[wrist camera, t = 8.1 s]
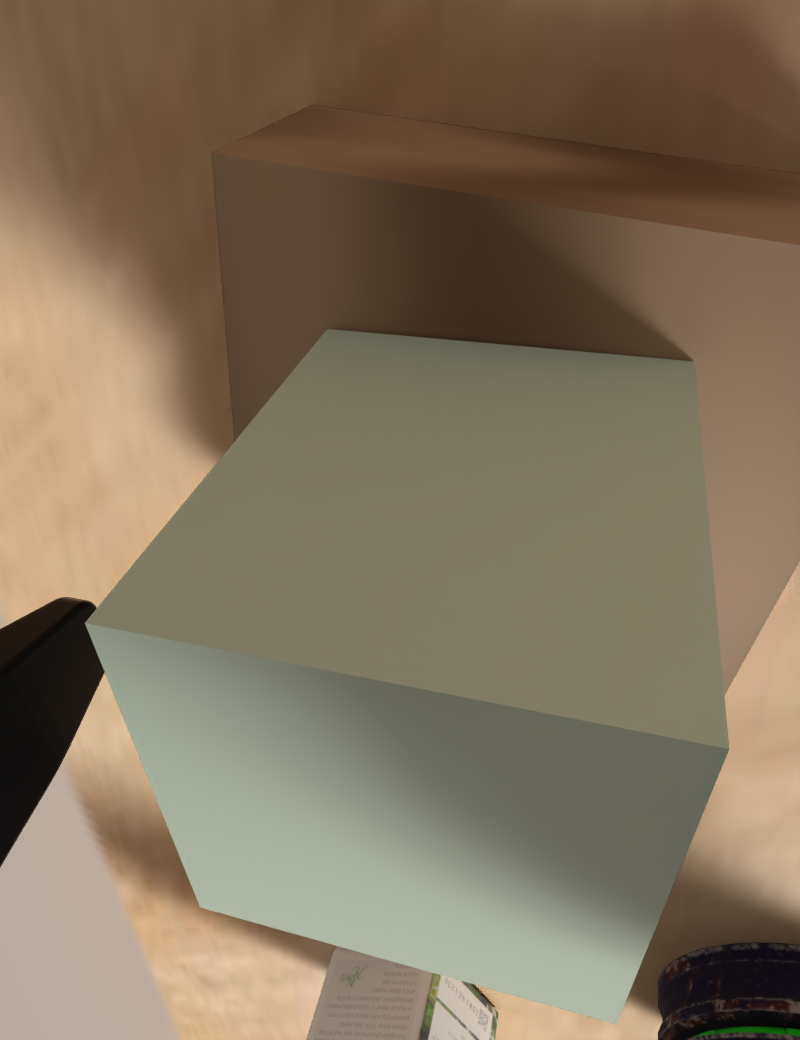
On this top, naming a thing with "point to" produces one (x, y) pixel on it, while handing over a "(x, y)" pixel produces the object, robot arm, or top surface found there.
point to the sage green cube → (439, 661)
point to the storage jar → (732, 994)
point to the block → (537, 287)
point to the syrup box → (396, 1003)
